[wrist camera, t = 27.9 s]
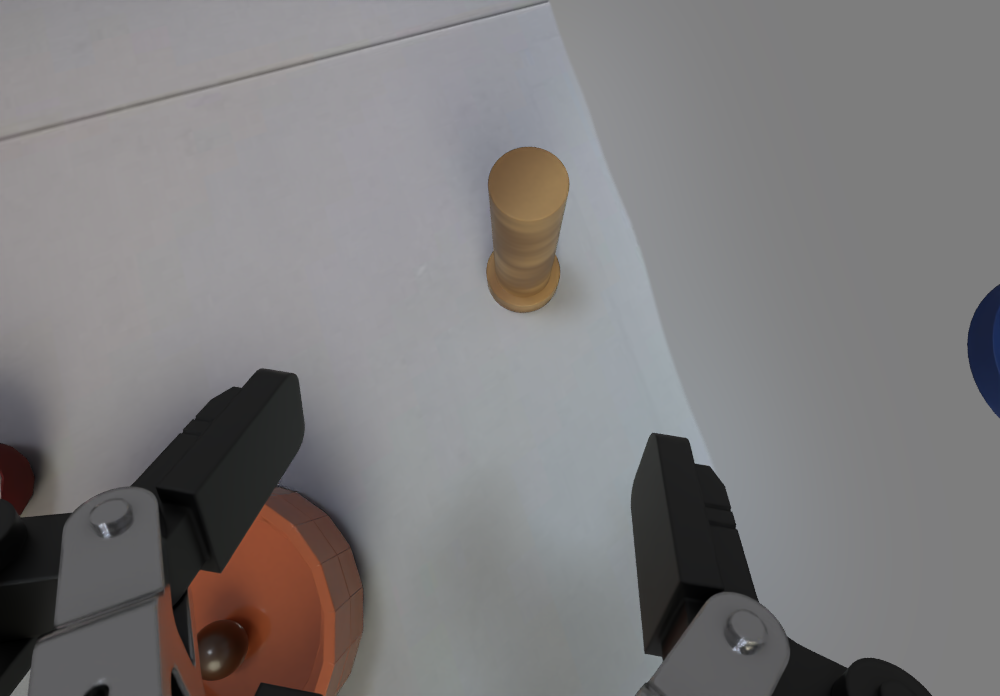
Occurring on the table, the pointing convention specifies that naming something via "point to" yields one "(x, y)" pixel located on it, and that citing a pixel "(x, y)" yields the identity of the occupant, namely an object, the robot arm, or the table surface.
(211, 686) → the bowl
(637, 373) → the table surface
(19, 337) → the table surface
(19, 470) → the cocoa
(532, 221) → the wooden flanged peg
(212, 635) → the bead
